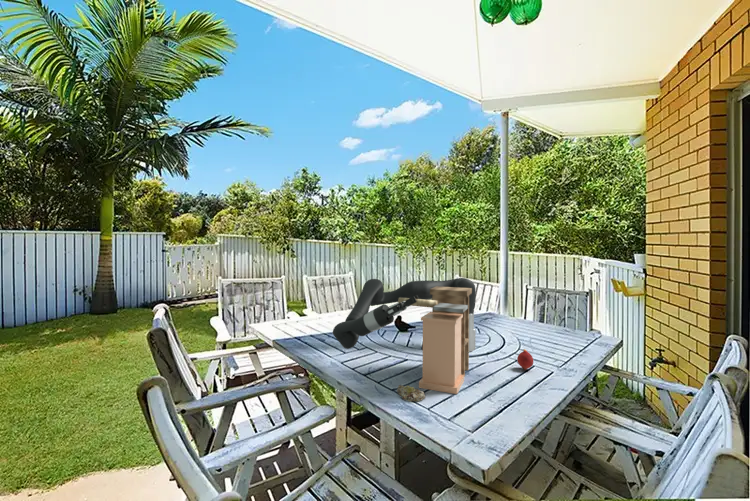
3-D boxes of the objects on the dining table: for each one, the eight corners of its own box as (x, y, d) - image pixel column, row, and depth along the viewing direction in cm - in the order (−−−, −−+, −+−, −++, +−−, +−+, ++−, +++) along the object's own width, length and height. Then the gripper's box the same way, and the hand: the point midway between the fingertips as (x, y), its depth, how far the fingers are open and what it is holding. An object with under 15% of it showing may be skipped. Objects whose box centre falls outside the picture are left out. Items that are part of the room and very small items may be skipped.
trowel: (394, 306, 128) (395, 299, 128) (403, 302, 136) (403, 295, 136) (462, 312, 118) (463, 305, 118) (467, 308, 126) (467, 301, 126)
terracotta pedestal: (418, 387, 122) (419, 317, 122) (429, 375, 134) (429, 311, 134) (457, 394, 117) (457, 321, 117) (464, 380, 129) (464, 314, 128)
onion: (532, 368, 142) (532, 348, 142) (534, 372, 136) (534, 352, 136) (516, 366, 144) (516, 346, 144) (517, 371, 138) (517, 350, 138)
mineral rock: (432, 390, 115) (416, 390, 110) (430, 404, 114) (414, 405, 109) (407, 382, 123) (391, 381, 118) (405, 395, 122) (389, 395, 117)
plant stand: (429, 372, 137) (429, 289, 136) (436, 364, 146) (436, 286, 145) (466, 378, 131) (467, 291, 130) (471, 369, 140) (471, 288, 139)
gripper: (366, 312, 130) (405, 291, 123) (381, 306, 142) (417, 286, 136) (375, 331, 128) (415, 311, 122) (389, 323, 141) (427, 304, 135)
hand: (416, 298), depth 129 cm, fingers closed on trowel, 2 cm apart
